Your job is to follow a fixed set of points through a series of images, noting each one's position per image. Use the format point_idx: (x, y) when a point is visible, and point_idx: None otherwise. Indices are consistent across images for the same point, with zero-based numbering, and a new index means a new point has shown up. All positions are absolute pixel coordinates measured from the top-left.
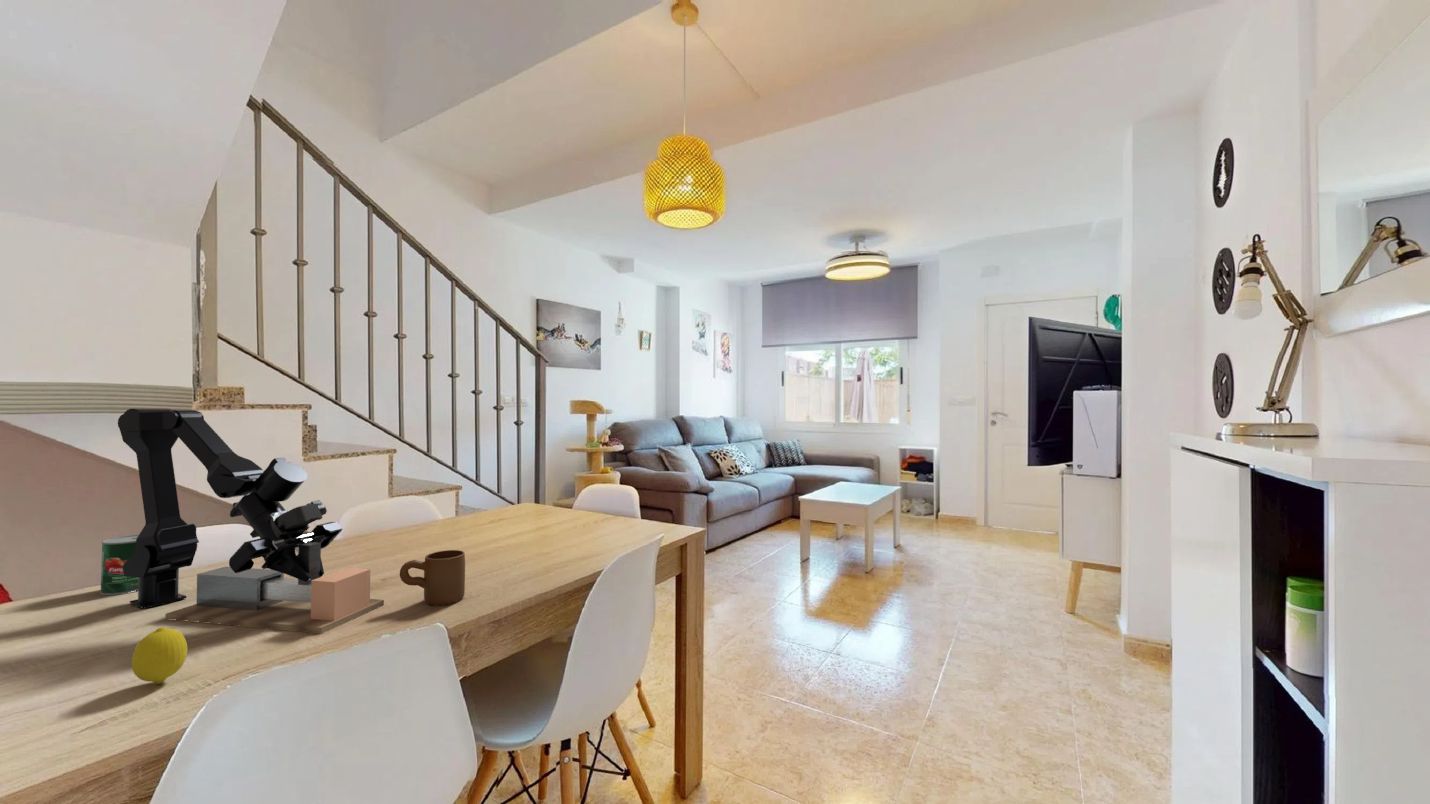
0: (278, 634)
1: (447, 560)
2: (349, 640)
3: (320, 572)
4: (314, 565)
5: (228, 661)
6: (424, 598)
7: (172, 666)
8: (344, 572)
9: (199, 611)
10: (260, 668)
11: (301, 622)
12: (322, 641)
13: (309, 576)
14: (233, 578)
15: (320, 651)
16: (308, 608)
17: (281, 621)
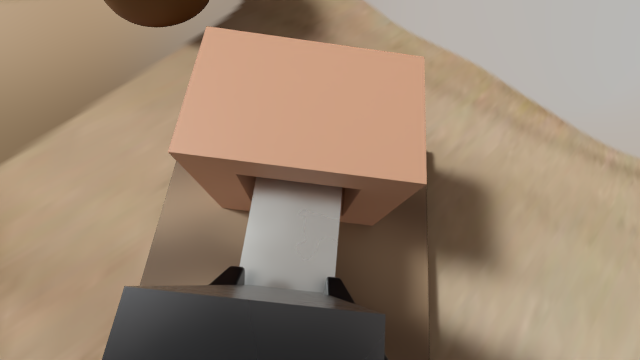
0: (449, 266)
1: None
2: (437, 62)
3: (240, 282)
4: (283, 291)
5: (609, 249)
6: (189, 7)
7: None
8: (267, 112)
9: None
10: (599, 143)
11: (404, 230)
12: (457, 114)
13: (335, 282)
14: None
15: (499, 84)
16: None
17: (409, 311)
